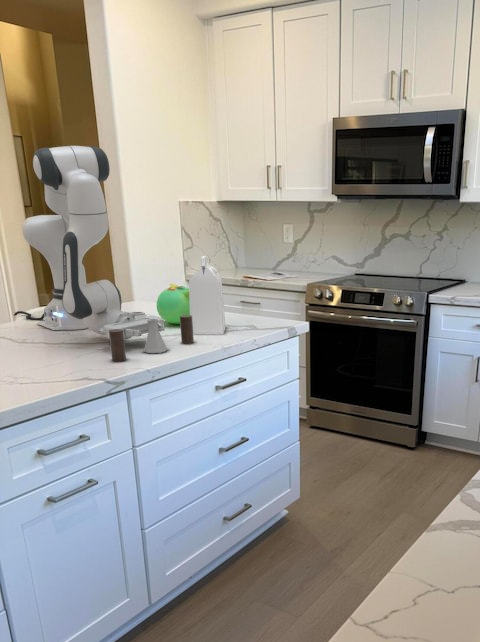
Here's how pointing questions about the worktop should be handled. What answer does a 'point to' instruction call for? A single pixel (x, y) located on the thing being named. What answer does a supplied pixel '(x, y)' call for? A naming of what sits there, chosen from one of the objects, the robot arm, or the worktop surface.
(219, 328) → the milk
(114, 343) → the walnut peg front
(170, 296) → the toy bird
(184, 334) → the walnut peg back
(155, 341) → the flask
